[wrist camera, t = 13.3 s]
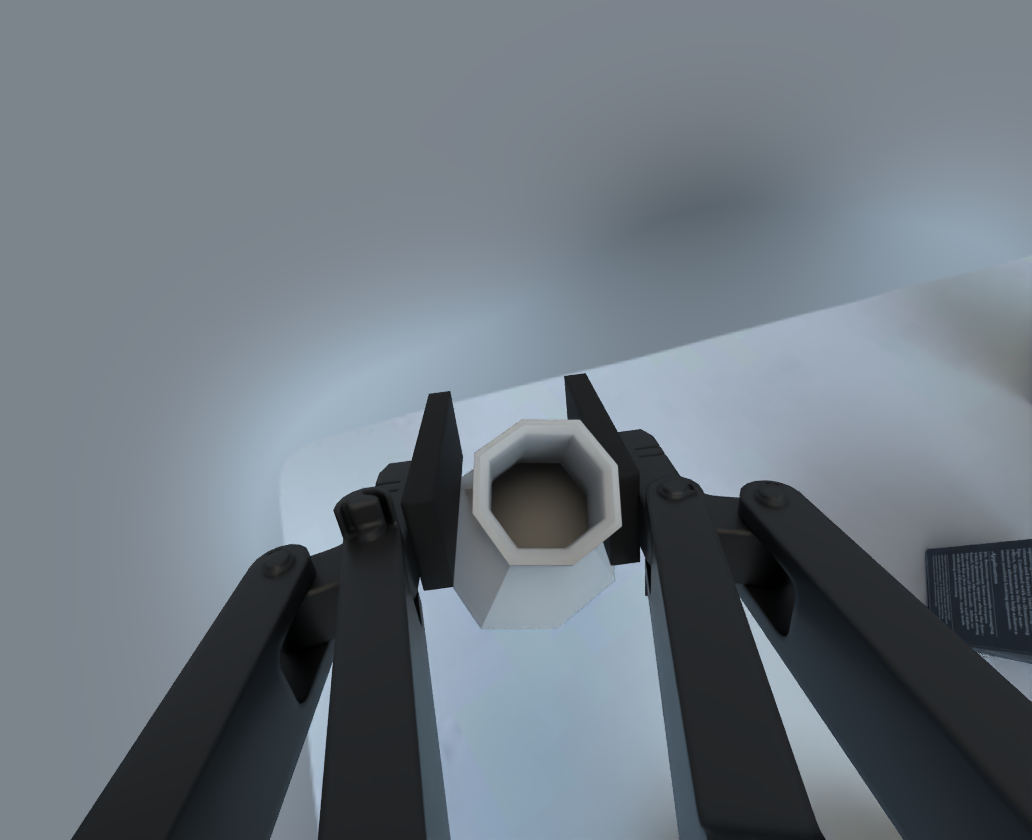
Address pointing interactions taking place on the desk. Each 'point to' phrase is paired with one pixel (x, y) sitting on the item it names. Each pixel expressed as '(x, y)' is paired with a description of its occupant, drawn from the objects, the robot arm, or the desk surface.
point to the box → (985, 595)
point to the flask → (536, 525)
